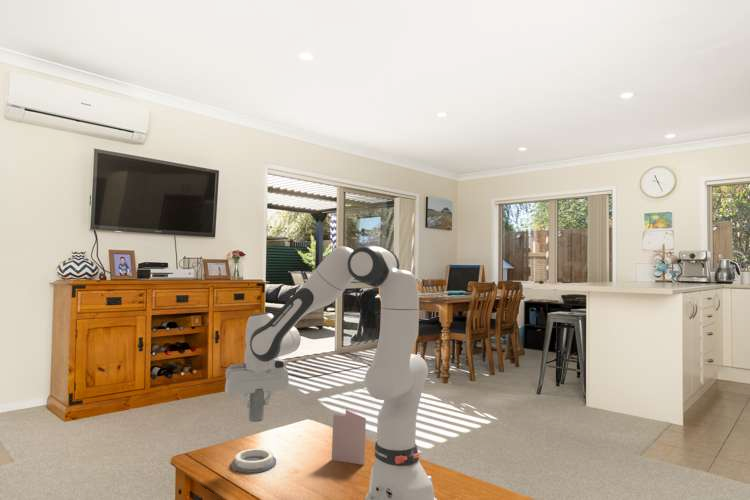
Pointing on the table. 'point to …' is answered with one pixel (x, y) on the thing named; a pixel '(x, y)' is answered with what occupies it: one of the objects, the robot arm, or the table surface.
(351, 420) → the greeting card
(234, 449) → the table surface
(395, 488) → the robot arm
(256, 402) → the grey cylinder
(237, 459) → the ring dish
